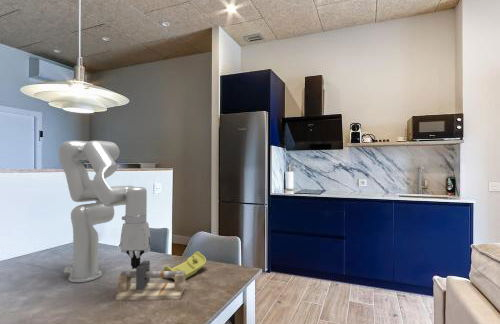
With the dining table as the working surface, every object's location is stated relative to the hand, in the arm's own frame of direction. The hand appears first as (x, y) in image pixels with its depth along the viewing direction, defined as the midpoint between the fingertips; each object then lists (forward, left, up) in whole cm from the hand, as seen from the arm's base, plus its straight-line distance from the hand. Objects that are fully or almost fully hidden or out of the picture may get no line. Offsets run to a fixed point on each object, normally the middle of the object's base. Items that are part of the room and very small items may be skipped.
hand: (135, 267), depth 110 cm
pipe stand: (+6, 0, -10) cm, 12 cm away
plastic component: (+15, +20, -10) cm, 27 cm away
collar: (+3, 0, -7) cm, 7 cm away
